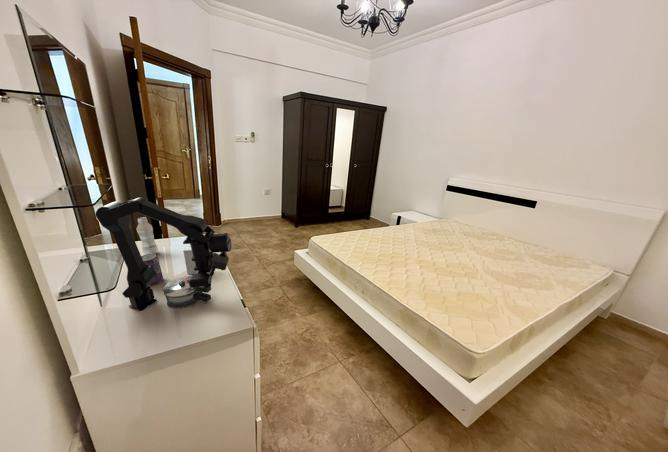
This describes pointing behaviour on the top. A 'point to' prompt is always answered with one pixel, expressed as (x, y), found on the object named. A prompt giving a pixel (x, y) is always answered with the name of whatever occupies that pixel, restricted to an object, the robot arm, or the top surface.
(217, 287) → the top surface
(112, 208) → the robot arm
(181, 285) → the lid
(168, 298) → the pot
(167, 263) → the top surface
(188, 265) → the skincare box
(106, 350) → the top surface
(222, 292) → the top surface
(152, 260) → the beverage can
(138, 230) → the plastic bottle
